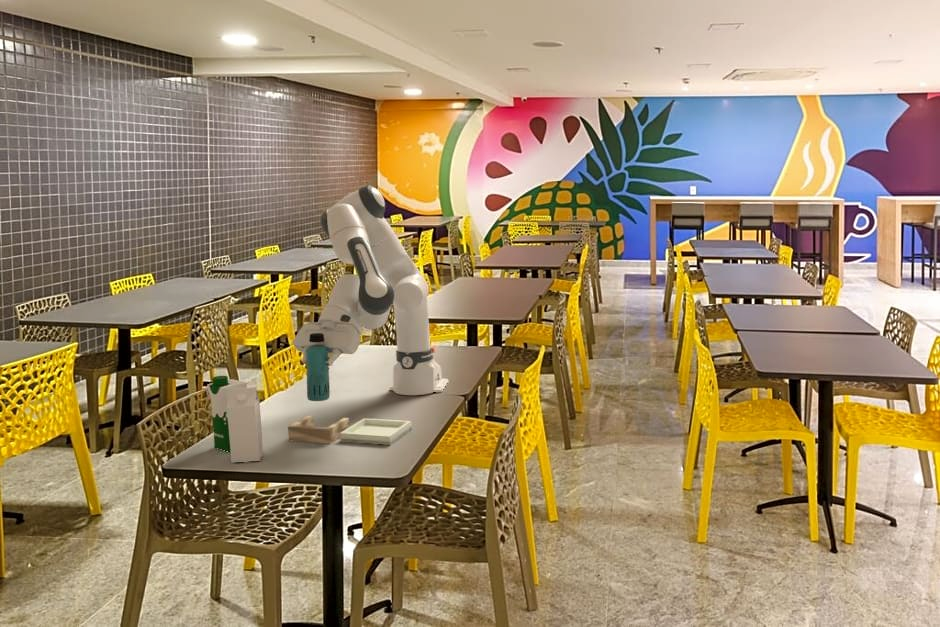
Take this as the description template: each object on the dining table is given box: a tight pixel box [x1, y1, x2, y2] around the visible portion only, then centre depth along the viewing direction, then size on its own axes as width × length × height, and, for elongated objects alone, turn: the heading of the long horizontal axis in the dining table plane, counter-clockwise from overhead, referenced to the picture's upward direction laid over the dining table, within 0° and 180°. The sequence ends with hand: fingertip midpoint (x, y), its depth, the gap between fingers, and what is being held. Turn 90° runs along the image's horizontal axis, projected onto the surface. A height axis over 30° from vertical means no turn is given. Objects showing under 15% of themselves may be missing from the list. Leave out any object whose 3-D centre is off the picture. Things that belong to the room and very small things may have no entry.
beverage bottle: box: [306, 333, 331, 402], centre depth 244 cm, size 6×7×20 cm
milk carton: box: [227, 386, 264, 463], centre depth 228 cm, size 7×7×19 cm
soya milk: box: [206, 375, 248, 453], centre depth 238 cm, size 9×9×20 cm
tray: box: [339, 417, 413, 446], centre depth 245 cm, size 15×15×2 cm
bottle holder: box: [287, 415, 350, 444], centre depth 246 cm, size 12×13×4 cm
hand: (316, 363), depth 244 cm, fingers closed on beverage bottle, 6 cm apart
